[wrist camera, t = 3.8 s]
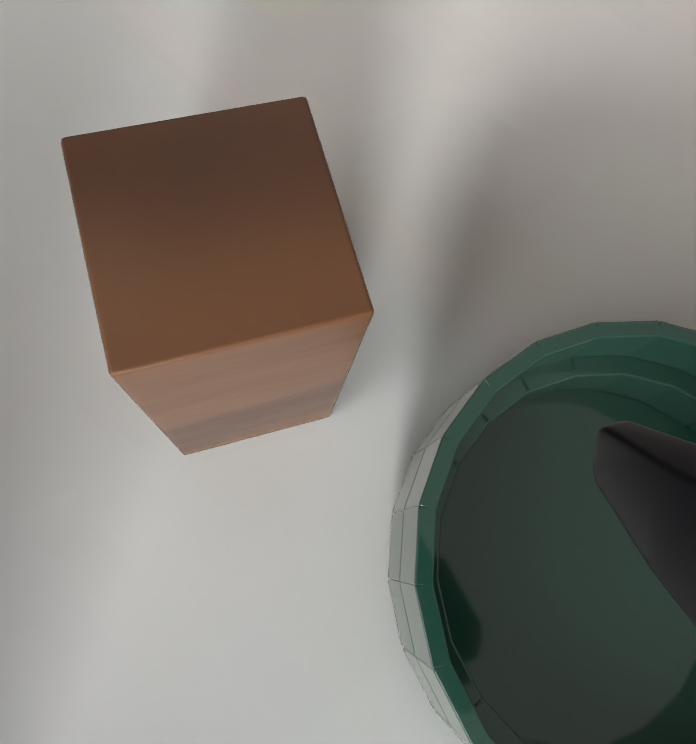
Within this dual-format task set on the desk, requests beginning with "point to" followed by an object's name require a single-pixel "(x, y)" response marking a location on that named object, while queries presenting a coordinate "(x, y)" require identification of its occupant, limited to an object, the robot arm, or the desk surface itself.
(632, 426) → the robot arm
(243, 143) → the walnut block
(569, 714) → the green shallow bowl
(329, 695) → the desk surface
